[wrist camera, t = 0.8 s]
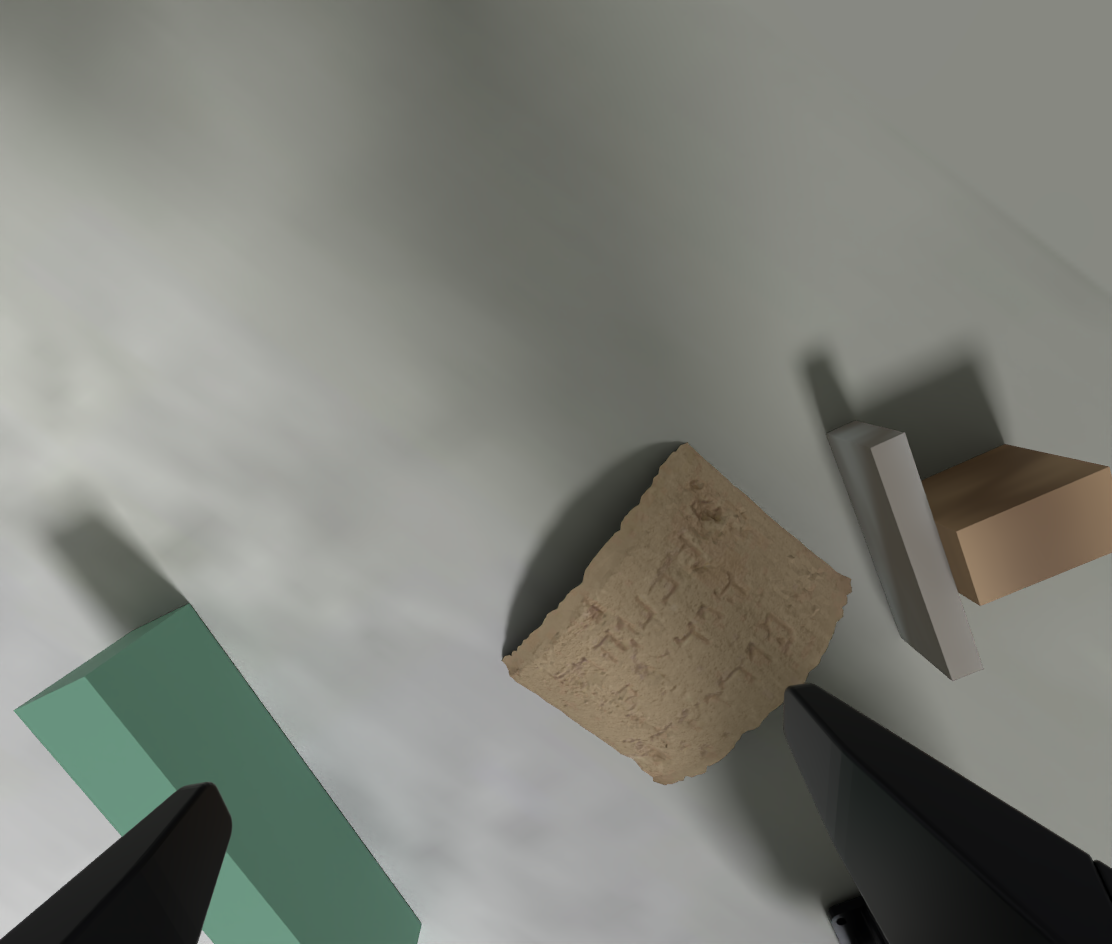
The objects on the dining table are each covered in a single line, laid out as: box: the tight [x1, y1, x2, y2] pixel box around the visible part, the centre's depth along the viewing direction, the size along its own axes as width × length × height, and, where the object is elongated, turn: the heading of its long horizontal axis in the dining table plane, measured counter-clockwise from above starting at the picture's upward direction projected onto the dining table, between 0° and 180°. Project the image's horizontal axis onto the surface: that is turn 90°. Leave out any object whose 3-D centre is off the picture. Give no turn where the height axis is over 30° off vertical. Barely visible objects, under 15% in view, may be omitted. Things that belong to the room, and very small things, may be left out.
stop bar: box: [14, 604, 422, 944], centre depth 22 cm, size 20×3×5 cm, turn 26°
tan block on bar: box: [826, 420, 1112, 681], centre depth 19 cm, size 6×10×4 cm, turn 26°
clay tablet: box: [502, 442, 852, 785], centre depth 21 cm, size 14×10×3 cm
